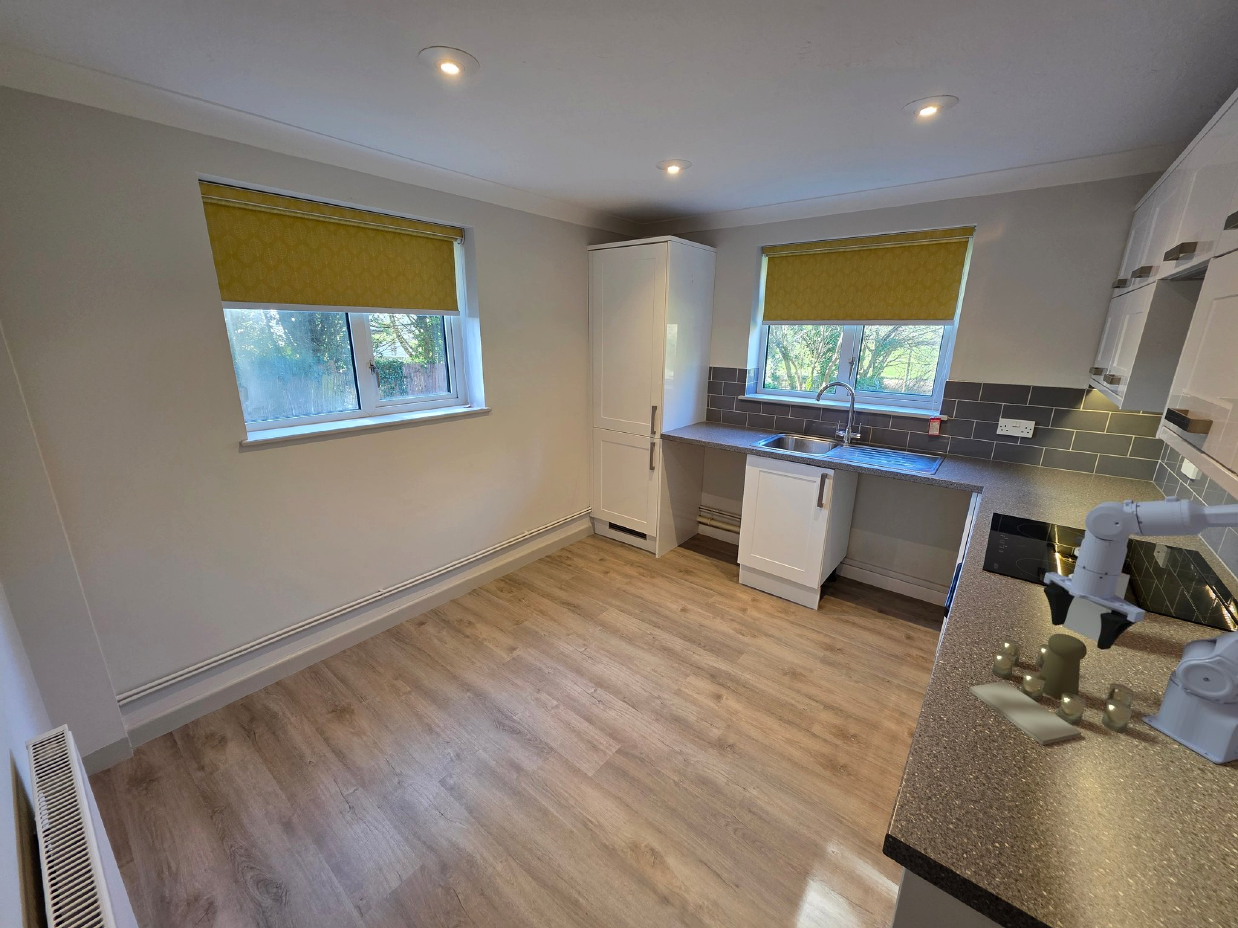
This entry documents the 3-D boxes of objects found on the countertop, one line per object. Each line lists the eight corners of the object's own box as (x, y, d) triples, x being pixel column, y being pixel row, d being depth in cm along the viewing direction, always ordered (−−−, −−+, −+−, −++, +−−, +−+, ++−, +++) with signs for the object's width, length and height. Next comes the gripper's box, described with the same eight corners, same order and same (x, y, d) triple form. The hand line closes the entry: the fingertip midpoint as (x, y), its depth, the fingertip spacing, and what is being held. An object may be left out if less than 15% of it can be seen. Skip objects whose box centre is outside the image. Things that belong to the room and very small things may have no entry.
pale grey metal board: (1080, 736, 80) (1081, 732, 80) (1042, 744, 78) (1043, 740, 78) (1003, 684, 92) (1004, 680, 92) (969, 690, 90) (969, 686, 90)
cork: (1086, 704, 87) (1101, 650, 84) (1047, 699, 88) (1060, 645, 86) (1064, 682, 93) (1076, 630, 90) (1027, 677, 94) (1039, 627, 91)
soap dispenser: (1065, 615, 116) (1086, 528, 111) (1113, 635, 108) (1138, 542, 103) (1049, 621, 113) (1070, 533, 108) (1098, 641, 106) (1122, 547, 100)
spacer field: (1155, 725, 82) (1161, 705, 81) (1089, 740, 79) (1095, 719, 78) (1028, 651, 102) (1032, 634, 101) (972, 661, 99) (975, 643, 98)
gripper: (1038, 553, 92) (1023, 616, 96) (1130, 590, 79) (1108, 662, 82) (1067, 550, 94) (1051, 612, 97) (1162, 585, 80) (1140, 657, 83)
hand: (1079, 635), depth 90 cm, fingers open, 7 cm apart
